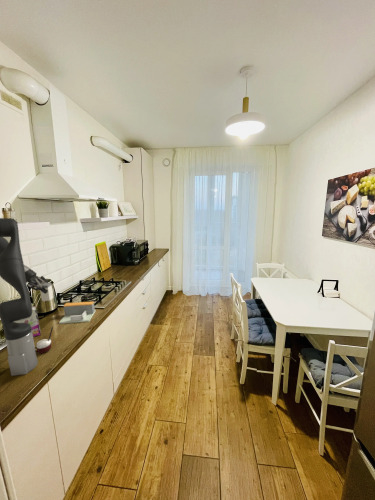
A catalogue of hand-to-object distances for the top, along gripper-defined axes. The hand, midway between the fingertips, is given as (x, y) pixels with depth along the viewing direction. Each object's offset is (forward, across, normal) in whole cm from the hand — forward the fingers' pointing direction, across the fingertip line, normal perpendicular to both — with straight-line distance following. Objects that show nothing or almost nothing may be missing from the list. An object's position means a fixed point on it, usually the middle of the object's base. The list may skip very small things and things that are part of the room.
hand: (48, 290), depth 129 cm
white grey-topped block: (+3, 0, +5) cm, 6 cm away
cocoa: (+22, -29, +9) cm, 37 cm away
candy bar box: (+11, -15, +20) cm, 27 cm away
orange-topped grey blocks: (+25, +4, +6) cm, 26 cm away
